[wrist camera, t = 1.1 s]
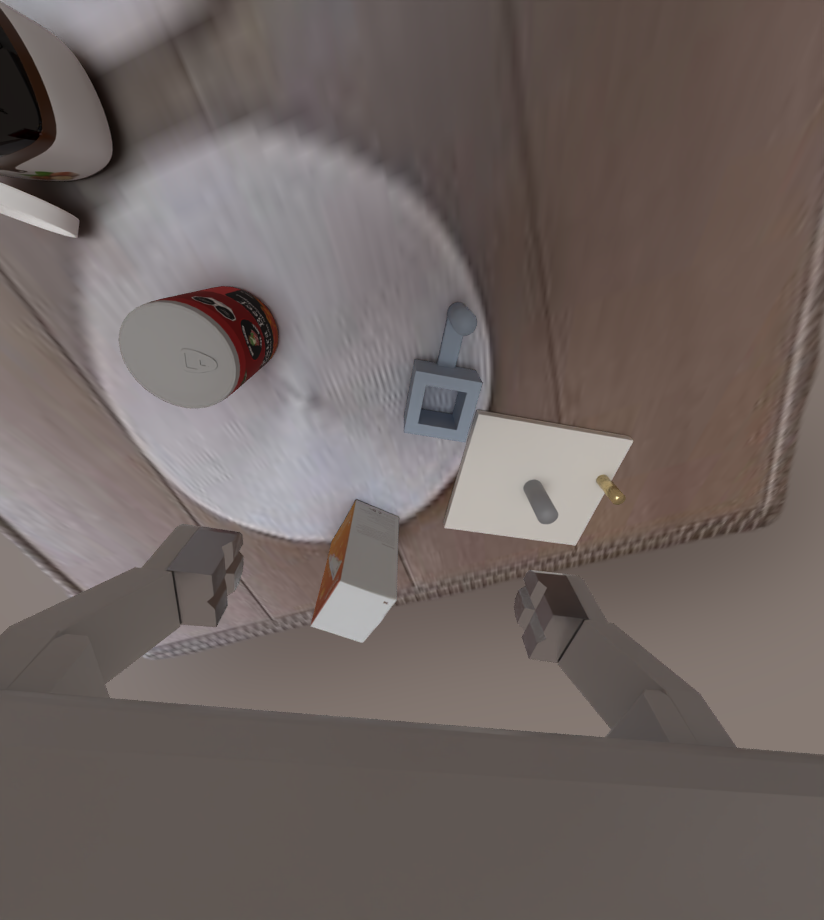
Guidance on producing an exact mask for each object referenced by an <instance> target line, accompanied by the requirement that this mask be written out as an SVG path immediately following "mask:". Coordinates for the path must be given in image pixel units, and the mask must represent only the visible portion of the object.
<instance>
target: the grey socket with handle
mask: <svg viewBox="0 0 824 920" xmlns="http://www.w3.org/2000/svg"><path fill="white" fill-rule="evenodd" d="M476 326H477V319H476V316H475V315H474V314H473V313H472V312H471V311H470V310H469V309H468V308H467V307H466V306H465V305H464V304H463V303H460V302H457V303H454V304H452V305H451V306H450V307H449V309H448V311H447V321H446V325H445V330H444V334H443V339H442V343H441V348H440V352H439V357H438V361H437V363H433V362H428V361H422V360H417V359H415V361H414V366H413V372H412V377H411V382H410V387H409V392H408V398H407V403H406V408H405V413H404V433H410V434H416V435H422V436H429V437H435V438H441V439H447V440H453V441H460V442H466V438H467V435H468V432H469V428H470V425H471V421H472V418H473V415H474V411H475V408H476V404H477V401H478V398H479V394H480V391H481V387H482V384H483V382H482V381H481V379H480V377H479V375H478V374H477V372H476V370H471V369H466V368H460V367H456V363H457V359H458V355H459V351H460V347H461V343H462V339H463V336H466V335H469V334H471V333H472V332H473V331H474V330H475V328H476ZM426 386H432V387H437V388H443V389H448V390H454V391H458V395H457V399H456V402H455V406H454V410H453V414H448V413H442V412H436V411H430V410H424V409H421V407H422V402H423V397H424V393H425V388H426Z"/></svg>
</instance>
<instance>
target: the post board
mask: <svg viewBox="0 0 824 920" xmlns="http://www.w3.org/2000/svg"><path fill="white" fill-rule="evenodd" d="M633 441H634V440H632V439H631V438H630V437H629V436H627V435H621V434H615V433H609V432H603V431H597V430H592V429H586V428H580V427H574V426H568V425H563V424H557V423H551V422H545V421H539V420H534V419H528V418H522V417H516V416H510V415H505V414H499V413H493V412H487V411H481V410H477V411H476V414H475V417H474V421H473V424H472V427H471V431H470V434H469V437H468V441H467V444H466V448H465V451H464V454H463V458H462V461H461V464H460V468H459V471H458V474H457V478H456V481H455V485H454V488H453V491H452V495H451V498H450V501H449V505H448V508H447V511H446V515H445V518H444V528H450V529H457V530H465V531H472V532H479V533H487V534H494V535H502V536H509V537H517V538H524V539H531V540H539V541H546V542H554V543H561V544H569V545H576V544H577V542H578V540H579V538H580V536H581V535H582V533H583V531H584V529H585V527H586V526H587V524H588V522H589V520H590V518H591V517H592V515H593V513H594V511H595V509H596V508H597V506H598V504H599V502H600V500H601V499H602V497H603V495H604V491H603V490H602V489H601V488H600V486H599V485H598V484H597V483H596V479H597V477H598V476H600V475H607V476H608V477H609V479H610V480H612V479H613V477H614V475H615V473H616V471H617V470H618V468H619V466H620V464H621V462H622V461H623V459H624V457H625V455H626V453H627V452H628V450H629V448H630V446H631V444H632V443H633Z"/></svg>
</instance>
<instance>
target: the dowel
mask: <svg viewBox="0 0 824 920" xmlns="http://www.w3.org/2000/svg"><path fill="white" fill-rule="evenodd" d="M596 483H597V484H598V485H599V486H600V488H601V489H602V490H603V491H604V493H605V494H606V495H607V496H608V498H609V499H610V500H611V501H612V503H613V504H615V505H619V504H622V503H623V502H624V501H625V496H624V495H623V493H622V492H621V491H620V490H619V489H618V488H617V487H616V485H615V484H614V483H613V482H612V481H611V480H610V479H609V477H608V476H607V475H600V476H598V477H597V479H596Z"/></svg>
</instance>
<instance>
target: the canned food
mask: <svg viewBox="0 0 824 920" xmlns="http://www.w3.org/2000/svg"><path fill="white" fill-rule="evenodd" d="M277 344H278V331H277V326H276V323H275V320H274V318H273V316H272V314H271V312H270V311H269V310H268V309H267V307H266V306H265V305H264V304H263V303H262V302H261V301H260V300H259V299H257V298H256V297H254V296H253V295H251V294H249V293H247V292H245V291H243V290H241V289H237V288H234V287H225V286H222V287H214V288H210V289H205V290H200V291H196V292H191V293H186V294H182V295H177V296H173V297H168V298H163V299H159V300H156V301H151V302H149V303H146V304H144V305H141V306H140V307H137V308H136V309H134V310H133V311H132V312H130V313H129V314H128V315H127V317H126V318H125V319H124V321H123V323H122V325H121V328H120V332H119V346H120V352H121V355H122V358H123V361H124V363H125V364H126V366H127V368H128V370H129V372H130V373H131V374H132V375H133V377H134V378H135V379H136V381H137V382H139V383H140V384H141V385H142V386H143V387H144V388H145V389H146V390H147V391H149V392H150V393H151V394H153V395H154V396H156V397H158V398H159V399H161V400H163V401H165V402H168V403H170V404H173V405H176V406H180V407H185V408H205V407H209V406H212V405H215V404H217V403H219V402H221V401H222V400H224V399H226V398H227V397H228V396H229V395H231V394H232V393H233V392H234V391H236V390H237V389H238V388H239V387H240V386H241V385H242V384H244V383H245V382H246V381H247V380H248V379H249V378H250V377H251V376H253V375H254V374H255V373H256V372H257V371H258V370H259V369H261V368H262V367H263V366H264V365H265V364H266V363H267V362H268V361H269V360H270V359H271V358H272V357H273V355H274V353H275V351H276V348H277Z"/></svg>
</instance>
